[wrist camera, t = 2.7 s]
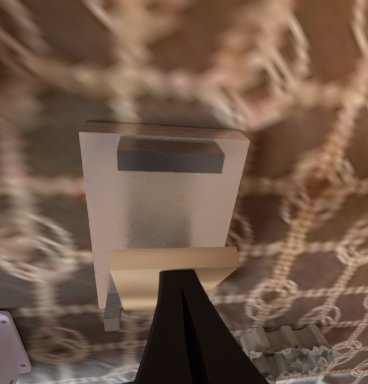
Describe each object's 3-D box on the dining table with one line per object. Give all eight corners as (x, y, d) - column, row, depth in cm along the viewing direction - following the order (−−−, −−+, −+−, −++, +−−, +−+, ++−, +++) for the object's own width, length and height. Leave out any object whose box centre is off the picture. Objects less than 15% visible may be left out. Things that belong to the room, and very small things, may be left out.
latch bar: (189, 296, 20) (190, 307, 20) (125, 300, 19) (124, 311, 19) (236, 246, 10) (240, 265, 10) (111, 249, 10) (109, 270, 9)
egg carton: (225, 357, 31) (236, 397, 27) (245, 320, 27) (259, 361, 24) (300, 355, 33) (319, 392, 30) (327, 321, 30) (352, 358, 26)
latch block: (206, 282, 23) (217, 325, 19) (102, 287, 21) (94, 334, 18) (238, 130, 16) (265, 154, 12) (86, 120, 14) (68, 146, 11)
